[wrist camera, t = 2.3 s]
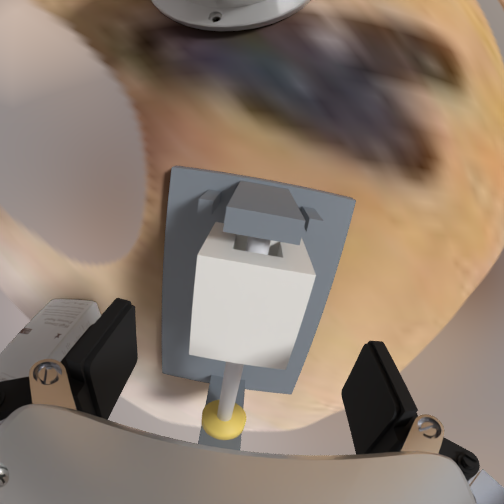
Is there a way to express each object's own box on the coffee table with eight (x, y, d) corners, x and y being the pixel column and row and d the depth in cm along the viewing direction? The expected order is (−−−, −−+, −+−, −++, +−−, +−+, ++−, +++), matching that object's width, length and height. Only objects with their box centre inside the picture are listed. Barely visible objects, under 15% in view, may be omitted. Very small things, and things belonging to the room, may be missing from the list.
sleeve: (215, 221, 15) (197, 254, 11) (301, 237, 15) (315, 275, 11) (205, 304, 17) (188, 354, 13) (281, 316, 17) (285, 369, 13)
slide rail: (176, 165, 18) (118, 185, 11) (351, 197, 19) (407, 238, 11) (165, 366, 25) (138, 437, 17) (290, 386, 25) (296, 461, 18)
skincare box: (96, 298, 23) (19, 393, 11) (111, 339, 24) (53, 436, 13) (49, 298, 23) (-25, 374, 12) (65, 335, 25) (5, 415, 13)
